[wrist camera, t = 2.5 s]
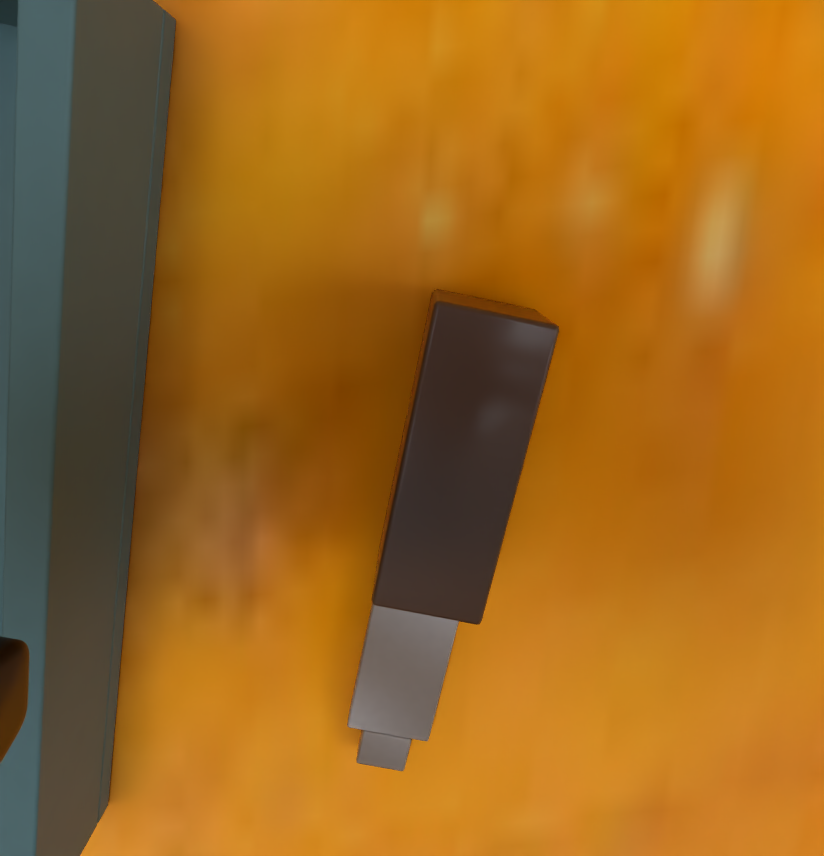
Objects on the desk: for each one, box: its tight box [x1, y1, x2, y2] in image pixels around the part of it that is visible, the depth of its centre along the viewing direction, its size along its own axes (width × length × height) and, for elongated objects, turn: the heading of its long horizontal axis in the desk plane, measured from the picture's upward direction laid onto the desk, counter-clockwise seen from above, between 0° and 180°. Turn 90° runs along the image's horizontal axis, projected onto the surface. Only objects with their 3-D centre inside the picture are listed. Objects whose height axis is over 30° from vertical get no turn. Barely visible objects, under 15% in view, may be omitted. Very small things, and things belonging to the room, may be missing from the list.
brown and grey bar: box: [347, 289, 559, 771], centre depth 14 cm, size 12×2×2 cm, turn 169°
